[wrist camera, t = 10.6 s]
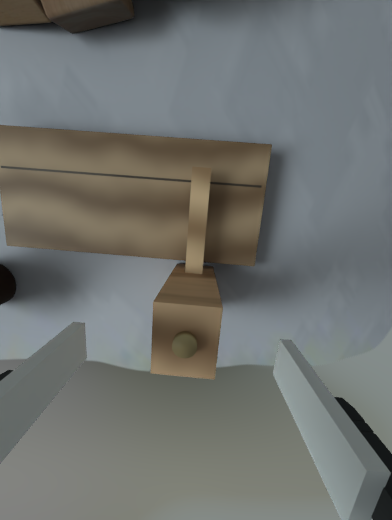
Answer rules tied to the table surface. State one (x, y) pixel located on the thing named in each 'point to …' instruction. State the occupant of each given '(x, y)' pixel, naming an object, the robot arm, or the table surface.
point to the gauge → (189, 301)
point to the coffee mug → (6, 285)
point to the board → (129, 193)
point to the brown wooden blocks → (66, 13)
